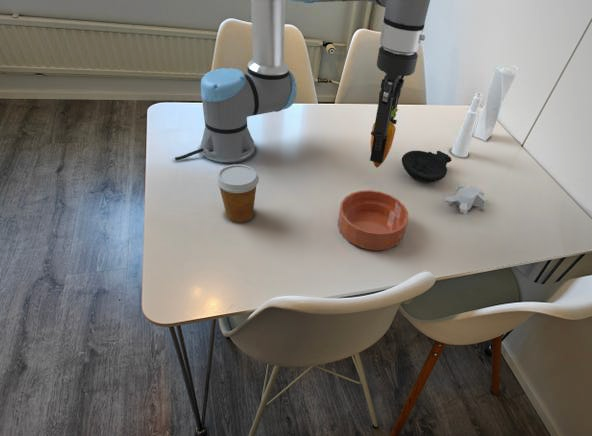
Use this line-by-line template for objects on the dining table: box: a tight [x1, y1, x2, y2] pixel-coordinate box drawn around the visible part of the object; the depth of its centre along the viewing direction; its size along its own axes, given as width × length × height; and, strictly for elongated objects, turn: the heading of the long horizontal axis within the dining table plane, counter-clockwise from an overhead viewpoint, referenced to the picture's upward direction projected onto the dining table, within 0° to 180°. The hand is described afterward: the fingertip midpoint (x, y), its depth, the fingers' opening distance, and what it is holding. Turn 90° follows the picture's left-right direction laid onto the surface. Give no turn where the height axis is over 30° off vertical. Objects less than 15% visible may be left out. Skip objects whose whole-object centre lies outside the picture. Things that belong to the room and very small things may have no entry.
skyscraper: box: [472, 64, 519, 142], centre depth 148 cm, size 8×8×28 cm
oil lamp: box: [401, 150, 452, 184], centre depth 127 cm, size 15×20×5 cm
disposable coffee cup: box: [215, 163, 260, 223], centre depth 97 cm, size 10×10×12 cm
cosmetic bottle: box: [450, 92, 483, 158], centre depth 136 cm, size 6×6×22 cm
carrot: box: [370, 107, 399, 168], centre depth 87 cm, size 5×5×15 cm
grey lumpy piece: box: [442, 185, 487, 215], centre depth 117 cm, size 10×5×15 cm
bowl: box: [337, 189, 409, 251], centre depth 102 cm, size 17×17×6 cm
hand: (378, 155), depth 90 cm, fingers closed on carrot, 5 cm apart
